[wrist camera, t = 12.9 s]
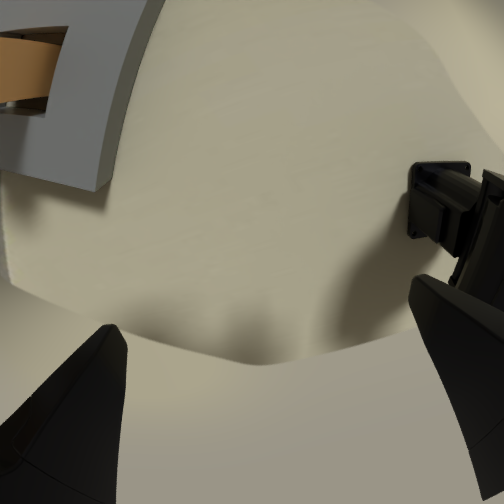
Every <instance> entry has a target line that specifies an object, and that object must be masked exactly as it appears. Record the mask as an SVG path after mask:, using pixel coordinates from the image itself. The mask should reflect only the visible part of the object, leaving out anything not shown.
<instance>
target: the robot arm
mask: <svg viewBox="0 0 504 504" xmlns="http://www.w3.org/2000/svg"><path fill="white" fill-rule="evenodd" d="M418 167H420V170H419V171H418ZM465 168H466V169H465ZM470 173H471V165H470V163H468V162H466V161H431V162H416V163H415V164H414V165H413V168H412V187H411V193H410V206H409V217H408V219H409V223H408V232H407V234H408V236H409V237H410V238H412V239H416V238H422V237H427V236H428V237H429V238H430V239H431V240H432V241H434V242H435V243H436V244H440V245H441V246H442V247H443V248H444V249H445V250H446V251H447V252H448V253H449V254H450V255H451V256H452V257H454V258H456V257H459V259H458V262H457V264H456V267H455V269H454V272H453V274H452V275H451V276H450V278H449V281H448V284H449V285H448V284H446V283H444V282H442V281H440V280H438V279H435V278H433V277H431V276H429V275H427V274H421V275H417V276H415V277H413V279H412V283H411V287H410V292H409V296H408V302H409V306H410V308H411V311H412V313H413V316H414V318H415V321H416V323H417V326H418V328H419V331H420V334H421V337H422V339H423V341H424V344H425V346H426V348H427V350H428V353H429V355H430V357H431V359H432V361H433V363H434V365H435V368H436V370H437V372H438V374H439V376H440V379H441V381H442V383H443V385H444V388H445V390H446V392H447V395H448V397H449V399H450V402H451V404H452V407H453V410H454V412H455V415H456V417H457V420H458V423H459V425H460V428H461V431H462V434H463V436H464V439H465V442H466V445H467V448H468V450H469V455H470V458H471V461H472V464H473V468H474V471H475V475H476V478H477V482H478V485H479V489H480V493H481V497H482V500H483V501H484V500H487V499H489V498H490V497H493V496H495V495H497V494H498V493H500V492H502V491H504V176H503V175H501V174H498V173H495V172H492V171H489V170H486V169H484V170H483V174H482V177H483V180H482V183H480V182H478V181H476V180H474V179H472V178H470ZM413 232H414V233H413ZM412 233H413V234H412ZM127 352H128V348H127V343H126V341H125V339H124V338H123V336H122V334H121V332H120V331H119V329H118V327H117V326H116V325H115V324H106V325H102V326H101V327H100V328H99V329H98V330H97V331H96V332H95V333H94V334H93V335H92V336H91V337H90V338H88V339H87V340H86V341H85V342H84V343H83V344H82V345H81V346H80V347H79V348H78V349H77V350H76V351H75V352H74V353H73V354H72V355H71V356H70V357H69V358H68V359H67V360H66V361H65V362H64V363H63V364H62V365H61V366H60V367H59V368H58V369H57V370H55V371H54V372H53V373H52V374H51V375H50V376H49V377H48V378H47V380H46V381H45V382H44V383H43V384H42V385H41V386H40V387H39V388H38V389H37V390H36V391H35V392H34V393H33V394H32V395H31V397H29V398H28V399H27V400H26V401H25V402H24V403H23V404H22V405H21V406H20V407H19V408H18V409H17V410H16V411H15V412H14V413H13V414H12V415H11V416H10V417H9V418H8V419H7V420H6V421H5V422H4V423H3V424H2V425H1V426H0V504H116V485H117V466H118V465H117V464H118V453H119V441H120V431H121V422H122V414H123V406H124V399H125V388H126V367H127Z"/></svg>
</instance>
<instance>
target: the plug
mask: <svg viewBox="0 0 504 504" xmlns="http://www.w3.org/2000/svg"><path fill="white" fill-rule="evenodd" d="M61 48H62V46H61V45H56V44H50V43H44V42H38V41H31V40H23V39H14V38H3V37H0V103H4V102H10V101H16V100H22V99H29V98H36V97H45V96H49V93H50V89H51V85H52V80H53V76H54V72H55V69H56V65H57V61H58V58H59V55H60V51H61Z"/></svg>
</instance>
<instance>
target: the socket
mask: <svg viewBox="0 0 504 504" xmlns="http://www.w3.org/2000/svg"><path fill="white" fill-rule="evenodd" d="M164 1H165V0H0V37H3V38H14V39H21V38H22V35H26V34H39V33H66V36H65V39H64V42H63V45H62V48H61V51H60V55H59V58H58V61H57V65H56V69H55V72H54V76H53V80H52V85H51V89H50V93H49V98H48V103H47V108H46V110H37V109H27V108H16V107H5V105H6V102H4V103H0V170H5V171H9V172H13V173H18V174H22V175H26V176H30V177H35V178H39V179H43V180H47V181H51V182H55V183H60V184H64V185H68V186H72V187H76V188H80V189H84V190H88V191H92V192H96V191H97V190H98V189H99V188H101V187H102V186H103V185H104V184H105V183H107V182H108V181H109V180H110V179H112V175H113V169H114V163H115V158H116V153H117V148H118V143H119V139H120V134H121V130H122V126H123V121H124V117H125V113H126V110H127V106H128V102H129V98H130V95H131V91H132V88H133V85H134V81H135V78H136V75H137V72H138V69H139V66H140V63H141V60H142V57H143V54H144V51H145V48H146V45H147V43H148V40H149V37H150V35H151V32H152V30H153V27H154V25H155V22H156V20H157V17H158V15H159V13H160V10H161V8H162V6H163V4H164Z"/></svg>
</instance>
